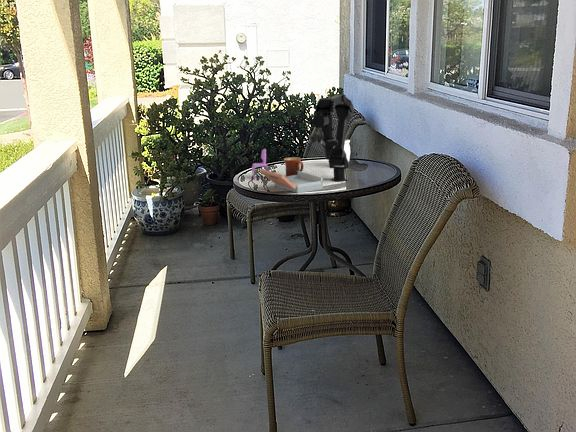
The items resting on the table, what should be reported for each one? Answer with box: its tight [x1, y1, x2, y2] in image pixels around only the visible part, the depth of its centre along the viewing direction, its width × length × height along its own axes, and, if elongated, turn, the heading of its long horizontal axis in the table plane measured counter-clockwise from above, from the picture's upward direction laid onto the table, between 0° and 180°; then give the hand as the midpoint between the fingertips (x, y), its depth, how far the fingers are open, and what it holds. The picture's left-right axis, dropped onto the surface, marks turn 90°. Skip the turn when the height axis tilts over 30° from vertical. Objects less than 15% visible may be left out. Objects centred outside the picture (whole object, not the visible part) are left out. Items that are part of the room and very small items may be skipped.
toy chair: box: [251, 148, 270, 180], centre depth 307 cm, size 8×9×15 cm
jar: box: [334, 138, 351, 163], centre depth 324 cm, size 11×10×15 cm
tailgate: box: [259, 168, 296, 189], centre depth 275 cm, size 2×20×10 cm
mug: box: [283, 156, 304, 177], centre depth 300 cm, size 12×9×10 cm
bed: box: [274, 171, 324, 194], centre depth 281 cm, size 14×21×6 cm
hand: (327, 159), depth 277 cm, fingers closed
